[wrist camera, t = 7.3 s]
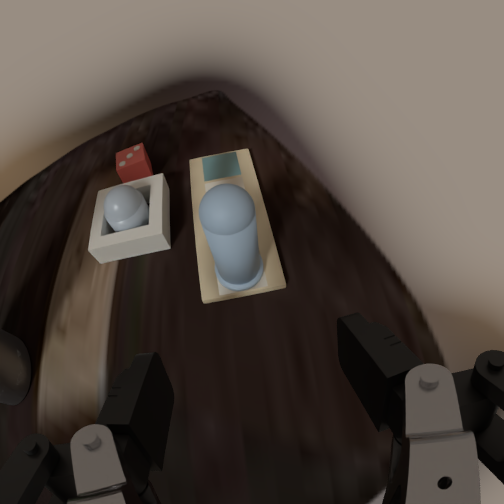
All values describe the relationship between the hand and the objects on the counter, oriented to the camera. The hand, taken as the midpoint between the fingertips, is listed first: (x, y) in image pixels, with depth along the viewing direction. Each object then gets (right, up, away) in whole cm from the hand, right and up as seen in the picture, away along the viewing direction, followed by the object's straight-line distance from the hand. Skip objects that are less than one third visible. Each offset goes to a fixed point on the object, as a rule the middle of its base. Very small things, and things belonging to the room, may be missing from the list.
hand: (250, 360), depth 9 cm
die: (-16, +14, +28) cm, 35 cm away
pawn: (-1, +2, +19) cm, 19 cm away
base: (-14, +7, +23) cm, 28 cm away
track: (-2, +8, +23) cm, 25 cm away
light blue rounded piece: (-14, +7, +23) cm, 28 cm away
